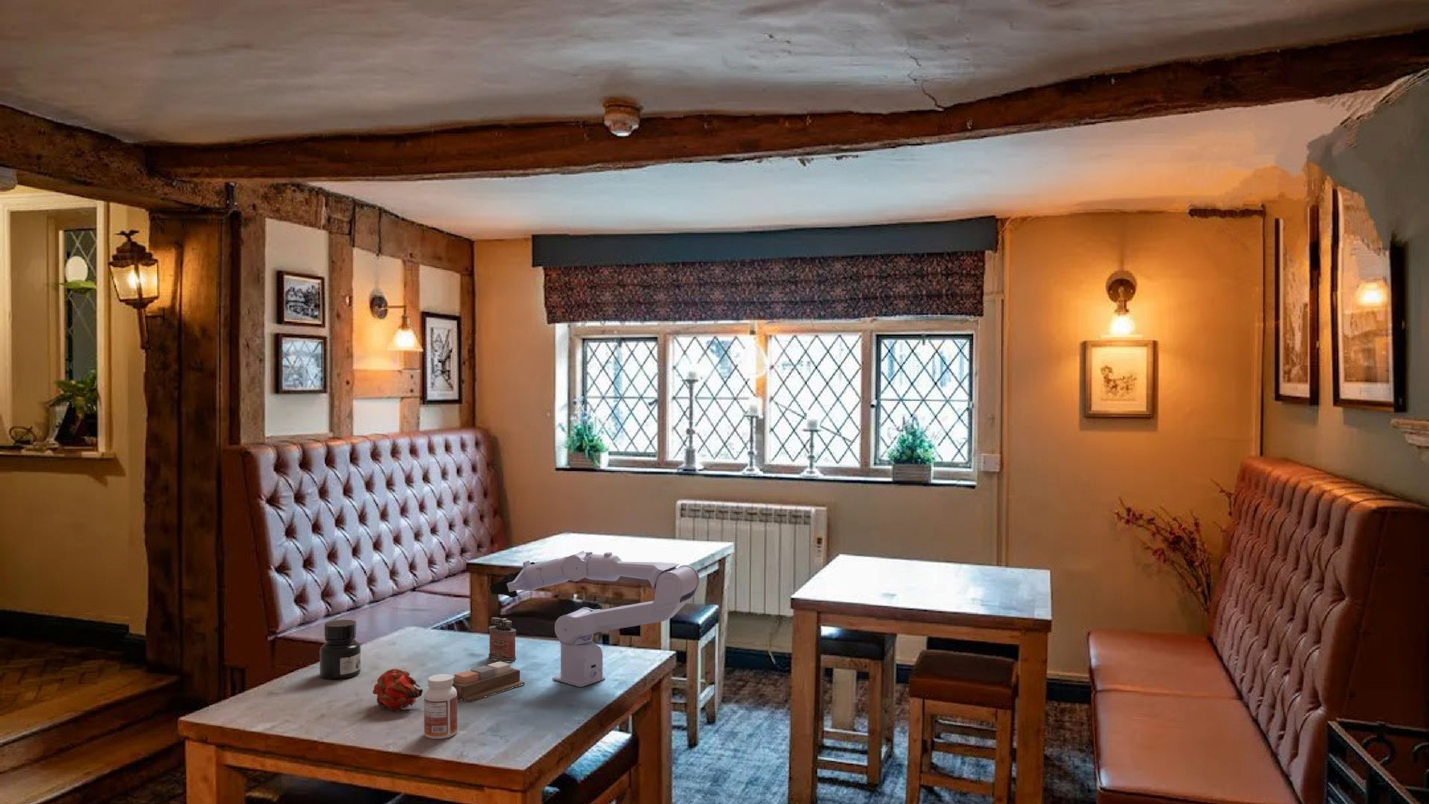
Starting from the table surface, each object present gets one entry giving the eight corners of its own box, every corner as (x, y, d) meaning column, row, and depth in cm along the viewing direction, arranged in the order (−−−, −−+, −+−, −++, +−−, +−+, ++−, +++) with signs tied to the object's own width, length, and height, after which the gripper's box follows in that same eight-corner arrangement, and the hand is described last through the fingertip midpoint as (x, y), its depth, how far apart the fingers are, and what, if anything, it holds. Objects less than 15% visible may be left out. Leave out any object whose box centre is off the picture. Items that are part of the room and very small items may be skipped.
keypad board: (524, 684, 221) (524, 671, 221) (468, 702, 209) (468, 688, 209) (495, 676, 227) (495, 663, 227) (440, 692, 215) (440, 679, 215)
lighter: (519, 659, 241) (519, 619, 240) (509, 663, 238) (509, 622, 238) (495, 654, 245) (495, 614, 245) (485, 658, 242) (485, 617, 242)
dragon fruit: (383, 706, 210) (413, 727, 203) (355, 691, 205) (385, 713, 197) (406, 671, 213) (437, 690, 206) (379, 655, 208) (410, 675, 200)
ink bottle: (351, 681, 223) (351, 628, 223) (312, 680, 223) (312, 628, 223) (367, 668, 233) (367, 618, 232) (330, 668, 233) (330, 617, 233)
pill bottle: (446, 726, 194) (446, 670, 194) (463, 734, 190) (463, 677, 190) (417, 734, 190) (417, 677, 190) (435, 742, 186) (434, 684, 185)
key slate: (494, 679, 218) (494, 668, 218) (481, 683, 215) (481, 672, 215) (484, 676, 220) (484, 665, 220) (471, 680, 218) (471, 669, 218)
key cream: (510, 674, 222) (510, 664, 222) (497, 678, 219) (497, 667, 219) (499, 671, 224) (499, 661, 224) (487, 675, 221) (487, 664, 221)
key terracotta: (478, 684, 215) (478, 673, 215) (464, 688, 212) (464, 677, 212) (467, 681, 217) (467, 670, 217) (454, 685, 214) (454, 674, 214)
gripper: (558, 549, 235) (513, 560, 240) (524, 565, 221) (477, 577, 227) (567, 577, 235) (521, 588, 240) (534, 595, 221) (486, 606, 227)
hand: (500, 584), depth 233 cm, fingers open, 7 cm apart
